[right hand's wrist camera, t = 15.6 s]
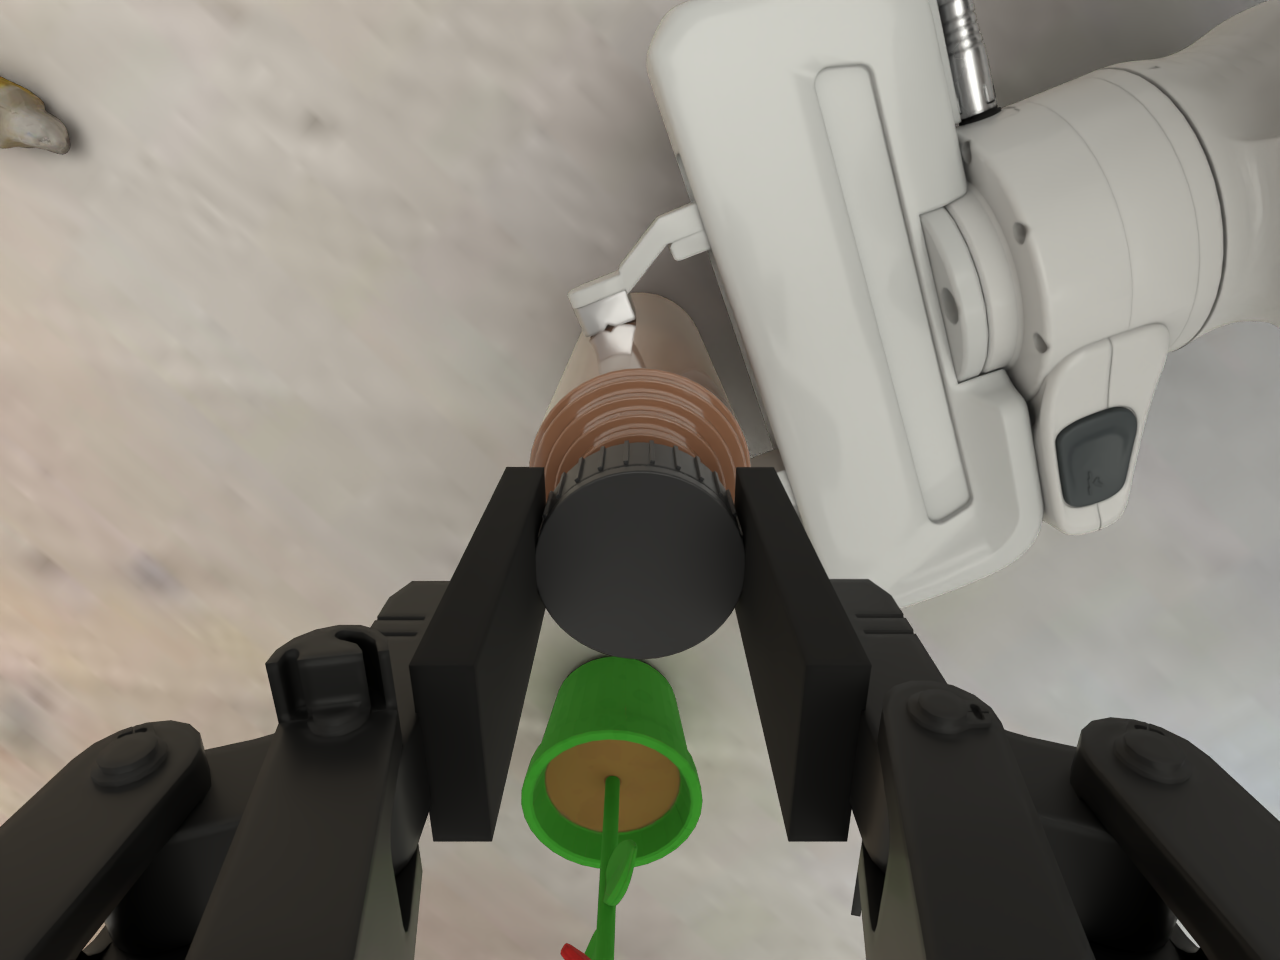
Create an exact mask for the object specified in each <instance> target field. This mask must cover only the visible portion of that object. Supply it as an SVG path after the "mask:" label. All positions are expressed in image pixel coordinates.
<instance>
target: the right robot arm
mask: <svg viewBox="0 0 1280 960" xmlns="http://www.w3.org/2000/svg"><path fill="white" fill-rule="evenodd" d="M545 506H546V491H545V472H544V467H506V469H505V471H504V473H503V475H502V477H501V479H500V481H499V483H498V485H497V487H496V489H495V491H494V493H493V495H492V497H491V500H490V502H489V504H488V506H487V508H486V510H485V512H484V514H483V516H482V518H481V520H480V522H479V524H478V526H477V528H476V530H475V532H474V534H473V536H472V538H471V540H470V542H469V544H468V546H467V548H466V550H465V552H464V554H463V556H462V558H461V560H460V562H459V564H458V566H457V568H456V570H455V572H454V574H453V577H452V579H451V581H412V582H410V583H409V584H408V585H406V586H405V587H403V588H402V589H401V590H399V591H398V592H396V593H395V594H394V595H392V596H391V597H389V599H388V600H387V602H386V604H385V605H384V607H383V608H382V610H381V612H380V613H379V615H378V616H377V620H375V621H374V623H373V624H372V626H371V628H369V627H366V626H362V625H337V626H332V627H327V628H321V629H316V630H314V631H311V632H309V633H306V634H303V635H301V636H298V637H296V638H294V639H292V640H291V641H289V642H288V643H286V644H285V645H283V646H281V647H280V648H278V649H277V650H276V651H275V652H274V653H273V655H272V656H271V657H270V658H269V660H268V661H267V662H266V663H265V665H266V669H267V674H268V678H269V682H270V687H271V691H272V696H273V700H274V704H275V709H276V713H277V718H278V722H279V724H278V727H277V729H276V732H275V733H274V734H271V735H268V736H264V737H261V738H257V739H253V740H249V741H244V742H240V743H235V744H230V745H226V746H221V747H217V748H212V749H207V750H204V746H203V743H202V739H201V735H200V733H199V732H198V731H197V730H196V729H195V728H193V727H192V726H191V725H190V724H187V723H182V722H177V721H172V720H170V721H159V722H149V723H144V724H141V725H136V726H134V727H129V728H127V729H124V730H121V731H118V732H116V733H114V734H112V735H110V736H108V737H106V738H104V739H102V740H100V741H98V742H96V743H94V744H93V745H91V746H90V747H89V748H87V749H86V750H85V751H83V752H82V753H81V754H79V755H78V756H77V757H75V758H74V759H73V760H71V761H70V762H69V763H68V764H67V765H66V766H65V767H64V768H63V769H62V770H61V771H60V772H59V773H58V774H56V775H55V776H54V777H53V778H52V779H51V780H50V781H49V782H48V783H47V784H46V785H45V786H44V787H43V788H41V789H40V790H39V791H38V792H37V793H36V794H35V795H34V796H33V797H32V798H31V799H30V800H29V801H28V802H26V803H25V804H24V805H23V806H22V807H21V808H20V809H19V810H18V811H17V812H16V813H15V814H14V815H13V816H11V817H10V818H9V819H8V820H7V821H6V822H5V823H4V824H3V825H2V826H1V827H0V960H414V953H415V943H416V932H417V922H418V912H419V901H420V891H421V881H422V865H421V858H420V852H419V845H418V842H419V839H420V836H421V833H422V830H423V827H424V824H425V822H426V819H427V816H428V813H429V814H430V821H431V828H432V835H433V841H492V839H493V835H494V830H495V826H496V821H497V817H498V813H499V808H500V804H501V800H502V795H503V791H504V787H505V782H506V778H507V774H508V769H509V765H510V760H511V756H512V752H513V747H514V743H515V739H516V734H517V730H518V726H519V721H520V717H521V712H522V708H523V704H524V699H525V695H526V691H527V686H528V682H529V678H530V673H531V669H532V665H533V660H534V656H535V651H536V647H537V643H538V638H539V634H540V630H541V625H542V621H543V617H544V612H545V606H544V604H543V602H542V600H541V597H540V595H539V592H538V589H537V578H536V561H535V548H536V544H537V540H538V534H539V530H540V527H541V524H542V520H543V518H542V515H543V512H544V509H545ZM734 506H735V509H736V512H737V515H738V516H737V517H738V520H739V523H740V527H741V530H742V533H743V542H744V547H745V568H744V583H743V590H742V593H741V595H740V598H739V600H738V603H737V604H736V606H735V610H736V615H737V619H738V624H739V628H740V632H741V637H742V641H743V645H744V650H745V654H746V658H747V663H748V667H749V671H750V676H751V680H752V685H753V689H754V693H755V698H756V702H757V706H758V711H759V715H760V719H761V724H762V728H763V732H764V737H765V741H766V745H767V750H768V754H769V759H770V763H771V767H772V772H773V776H774V780H775V785H776V789H777V793H778V798H779V802H780V806H781V811H782V815H783V820H784V824H785V828H786V833H787V837H788V841H847V838H848V831H849V824H850V817H851V810H852V811H853V814H854V817H855V820H856V822H857V825H858V828H859V831H860V834H861V837H862V845H861V852H860V858H859V865H858V872H857V878H856V885H855V891H854V898H853V905H852V911H851V915H855V916H860V915H861V910H862V920H863V931H864V941H865V951H866V960H1280V821H1279V820H1277V819H1276V818H1275V817H1274V816H1273V815H1272V814H1271V813H1270V812H1269V811H1268V810H1267V809H1266V808H1264V807H1263V806H1262V805H1261V804H1260V803H1259V802H1258V801H1257V800H1256V799H1255V798H1254V797H1253V796H1252V795H1250V794H1249V793H1248V792H1247V791H1246V790H1245V789H1244V788H1243V787H1242V786H1241V785H1240V784H1239V783H1237V782H1236V781H1235V780H1234V779H1233V778H1232V777H1231V776H1230V775H1229V774H1228V773H1227V772H1226V771H1225V770H1223V769H1222V768H1221V767H1220V766H1219V765H1218V764H1217V763H1216V762H1215V761H1214V760H1213V759H1212V758H1210V757H1209V756H1208V755H1207V754H1205V753H1204V752H1203V751H1201V750H1200V749H1199V748H1197V747H1196V746H1194V745H1193V744H1192V743H1190V742H1189V741H1188V740H1186V739H1184V738H1182V737H1180V736H1178V735H1175V734H1173V733H1171V732H1169V731H1167V730H1165V729H1163V728H1161V727H1158V726H1155V725H1152V724H1147V723H1146V722H1141V721H1137V720H1133V719H1122V718H1112V717H1110V718H1105V719H1100V720H1094V721H1091V722H1090V723H1089V724H1088V725H1087V726H1086V727H1085V728H1083V729H1082V730H1081V734H1080V737H1079V741H1078V745H1077V747H1073V746H1069V745H1064V744H1059V743H1055V742H1050V741H1045V740H1041V739H1036V738H1031V737H1027V736H1023V735H1020V734H1016V733H1013V732H1009V731H1007V730H1004V728H1003V725H1002V723H1001V721H1000V720H999V718H998V717H997V716H996V714H995V713H994V711H993V710H992V708H991V707H989V706H988V705H987V704H985V703H984V702H983V701H981V700H980V699H979V698H978V697H976V696H975V695H973V694H971V693H969V692H966V691H964V690H962V689H960V688H958V687H955V686H953V685H949V684H947V683H946V681H945V679H944V678H943V676H942V675H941V673H940V672H939V670H938V668H937V667H936V665H935V664H934V662H933V660H932V659H931V657H930V656H929V654H928V652H927V651H926V649H925V648H924V646H923V645H922V643H921V641H920V640H919V638H918V637H917V635H916V634H913V629H912V627H911V625H910V624H909V622H908V621H907V619H906V618H904V617H903V613H902V611H901V610H900V608H899V606H898V605H897V603H896V602H895V600H894V599H893V597H892V595H890V594H889V593H888V592H886V591H885V590H883V589H882V588H881V587H879V586H878V585H876V584H875V583H873V582H872V581H871V580H869V579H829V578H828V576H827V574H826V572H825V569H824V567H823V565H822V563H821V561H820V559H819V557H818V555H817V553H816V551H815V549H814V547H813V545H812V543H811V541H810V539H809V537H808V535H807V533H806V531H805V529H804V527H803V525H802V523H801V521H800V519H799V517H798V515H797V513H796V511H795V509H794V507H793V505H792V503H791V501H790V499H789V497H788V495H787V493H786V491H785V488H784V486H783V484H782V482H781V480H780V478H779V476H778V474H777V472H776V470H775V468H774V467H736V480H735V499H734ZM1177 919H1178V920H1179V921H1180V922H1181V923H1182V925H1183V926H1184V927H1185V929H1186V930H1187V931H1188V932H1189V934H1190V935H1191V936H1192V937H1193V939H1194V940H1195V941H1196V942H1197V944H1198V945H1199V946H1200V948H1198V947H1197V946H1196V945H1195V944H1194V943H1193V942H1192V941H1191V940H1190V939H1189V938H1188V937H1187V936H1186V935H1185V933H1184V932H1183V931H1182V930H1181V928H1180V927H1179V926H1178V925H1177V923H1176V921H1177ZM104 922H105V927H104V928H103V929H102V930H101V932H100V933H99V934H98V936H97V937H96V938H95V939H94V940H93V941H92V942H91V943H90V944H89V945H88V946H87V947H86V948H85V949H84V950H83V948H84V947H85V946H86V944H87V943H88V942H89V941H90V939H91V938H92V937H93V936H94V934H95V933H96V932H97V931H98V929H99V928H100V927H101V925H102V924H103V923H104ZM82 950H83V951H82Z"/></svg>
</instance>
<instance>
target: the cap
mask: <svg viewBox="0 0 1280 960" xmlns="http://www.w3.org/2000/svg"><path fill="white" fill-rule="evenodd" d="M737 516H738V515H737V512H736V509H735V506H734V502H733V499H732V496H731V493H730V491H729V489H727V490H725V488H724V486H723V485H722V483H721V482H720V481H719V477H718V474H717V472H716V471H714V472H712V471H711V470H710V469H709V468H708V467H706V466H705V465H704V464H703V463H701V462H700V458H699V457H698V456H696V457H695V458H694V457H692V456H691V455H689V454H687V453H685V452H683V451H680V450H678V446H675V445H674V446H673V448H672V447H669V446H665V445H661V444H655V443H654V441H653V440H650V441H649V443H645V442H642V443H641V442H636V443H629V440H627V441H624V444H620V445H615V446H611V447H608V448H605V446H602V447H600V450H599V451H597V452H595V453H593V454H591V455H589V456H588V457H586V458H585V459H584V458H583V457H581V458H579V461H578V463H577V464H576V465H575V466H574V467H573V468H572V469H571V470H569V471H568V472H567V474H566V473H565V472H563V474H562V475H561V479H560V482H559V484H558V485H557V487H556V488H555V490H554V492H553V491H550V493H549V496H548V499H547V502H546V506H545V509H544V512H543V515H542V518H543V520H542V524H541V527H540V530H539V534H538V540H537V544H536V548H535V561H536V578H537V589H538V592H539V595H540V597H541V600H542V602H543V604H544V606H545V608H546V609H547V611H548V612H549V614H550V615H551V617H552V618H553V619H554V620H555V622H556V623H557V624H558V625H559V626H560V627H561V628H562V629H563V630H564V631H565V632H566V633H567V634H569V635H570V636H571V637H573V638H574V639H575V640H577V641H578V642H580V643H581V644H583V645H585V646H587V647H589V648H591V649H593V650H596V651H599V652H601V653H604V654H607V655H611V656H615V657H621V658H628V659H652V658H659V657H665V656H670V655H673V654H676V653H679V652H682V651H684V650H687V649H689V648H691V647H693V646H695V645H697V644H698V643H700V642H702V641H704V640H705V639H706V638H708V637H709V636H710V635H712V634H713V633H714V632H715V631H716V630H717V629H718V628H719V627H720V626H721V625H722V624H723V623H724V622H725V621H726V619H727V618H728V617H729V616H730V614H731V613H732V611H733V609H734V608H735V606H736V604H737V603H738V600H739V598H740V595H741V593H742V590H743V583H744V568H745V547H744V542H743V533H742V530H741V527H740V523H739V520H738V517H737Z"/></svg>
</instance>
